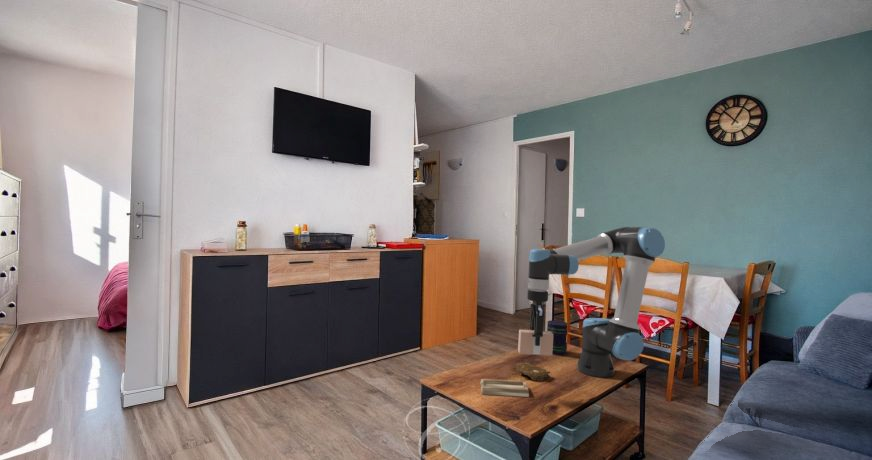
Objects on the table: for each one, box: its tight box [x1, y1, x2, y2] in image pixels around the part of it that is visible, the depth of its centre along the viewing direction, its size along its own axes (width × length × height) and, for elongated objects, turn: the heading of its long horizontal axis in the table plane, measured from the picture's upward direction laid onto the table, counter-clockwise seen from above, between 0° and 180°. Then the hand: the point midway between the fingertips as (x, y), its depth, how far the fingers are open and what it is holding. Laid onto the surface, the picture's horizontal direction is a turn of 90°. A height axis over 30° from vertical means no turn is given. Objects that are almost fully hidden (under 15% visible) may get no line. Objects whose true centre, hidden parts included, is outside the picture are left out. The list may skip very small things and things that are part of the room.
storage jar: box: [546, 319, 568, 356], centre depth 196 cm, size 10×10×15 cm
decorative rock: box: [515, 361, 551, 382], centre depth 165 cm, size 11×4×15 cm
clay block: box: [517, 329, 553, 357], centre depth 147 cm, size 12×4×8 cm, turn 87°
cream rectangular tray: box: [480, 378, 530, 398], centre depth 148 cm, size 10×17×2 cm, turn 87°
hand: (535, 351), depth 147 cm, fingers closed on clay block, 4 cm apart
